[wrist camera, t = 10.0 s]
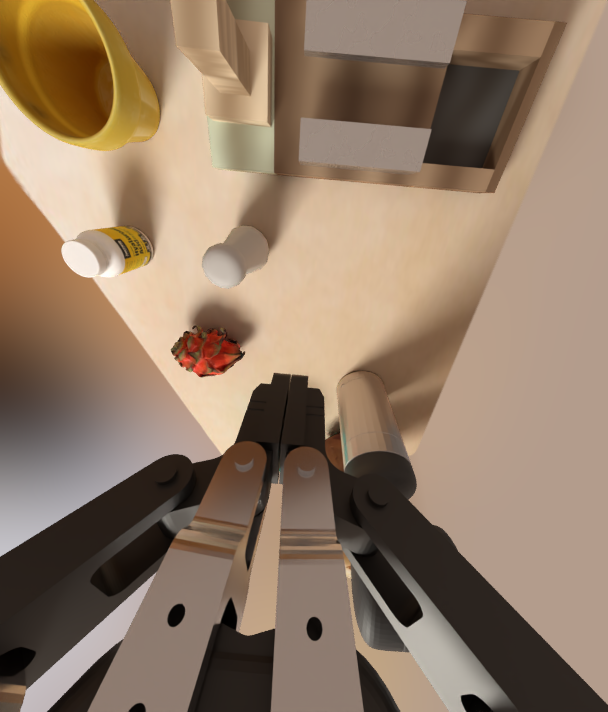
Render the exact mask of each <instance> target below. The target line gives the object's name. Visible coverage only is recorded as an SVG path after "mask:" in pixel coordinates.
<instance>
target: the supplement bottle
mask: <svg viewBox="0 0 608 712" xmlns="http://www.w3.org/2000/svg"><path fill="white" fill-rule="evenodd" d="M62 255H63V258H64V260H65V262H66V263H67V265H68V266H69V267H70V268H71V269H72V270H73V271H74V272H76V273H77V274H79V275H81V276H84V277H95V276H99V275H100V276H103V277H114V276H118V275H120V274H123V273H126V272H128V271H131V270H134V269H137V268H139V267H142V266H145V265H147V264H148V263H150V262H151V260H152V258H153V247H152V245H151V242H150V241H149V239H148V238H147V237H146V235H145V234H144V233H142V232H141V231H140V230H138V229H137V228H134V227H131V226H119V227H111V228H103V229H95V230H88V231H84V232H82V233H80V234H79V235H78V236H77V238H76V239H75V240H70V241H67V242H65V243H64V244H63V246H62Z"/></svg>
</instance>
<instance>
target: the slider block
mask: <svg viewBox="0 0 608 712" xmlns="http://www.w3.org/2000/svg"><path fill="white" fill-rule="evenodd" d="M170 3H171V11H172V18H173V26H174V34H175V41H176V46H177V47H178V48H179V49H180V50H181V52H182V53H183V54H184V55H185V56H186V57H187V58H188V59H189V60H190V61H191V62H192V63H193V64H194V65H195V66H196V67H197V69H198V70H199V71H200V72H201V73H202V82H203V92H204V103H205V113H206V115H207V116H208V117H209V118H211V119H212V120H213V121H219V122H228V123H237V124H245V125H254V126H262V127H271V109H272V34H271V31H270V28H269V24H268V23H264V22H256V21H247V20H239V19H235V18H234V16H233V14H232V12H231V10H230V8H229V6H228V4H227V1H226V0H170Z"/></svg>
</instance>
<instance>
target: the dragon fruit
mask: <svg viewBox="0 0 608 712" xmlns="http://www.w3.org/2000/svg"><path fill="white" fill-rule="evenodd" d="M195 327H197V330H198V333H197V334H195V335H194V334H193V333H192V332H189V331H185V332H184V334H183V337H180V338H179V340H178V342H176V343H175V345H174V346H173V348H172V349H171V352H172V354H173V356H176V357H175V360H176V361H178V363H179V364H180V366H181V367H186V370H187V371H189V372H192V371H193V372H195V373H196V374H197V375H198V376H199V377H206V376H215V375H220V374H223V373H225V372H226V371H227V370H228V369H229V368H231V367H232V366H233V365H234V364H235V363H236V362H237V361H239V360H241V359H242V358H243V356H244V355H245V351H244V352H243V354H242V351H240V350H239V349H240V344H238V342H237V341H235V340H232V339H229V340H232V341H230V342H232V343H235V344H232V343H229V342H227V341H226V340H224V338H225V337H226V336H227V333H226V329H225V328H222V327H219V329H220V331H221V332H222V334H223V335H221V336H217V333H218V331H217V330H216V329H214V328H212V329H209V330H207V332H203V330H202V328H201V327H199V326H194V327H193V328H192V329H194V328H195ZM240 355H241V356H240Z"/></svg>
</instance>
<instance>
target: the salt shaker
mask: <svg viewBox="0 0 608 712" xmlns="http://www.w3.org/2000/svg"><path fill="white" fill-rule="evenodd" d="M268 255H269V248H268V242H267V240H266V239H265V237H264V236H263V234H262V233H261V232H260V231H258V230H257V229H255V228H254V227H252V226H242V225H241V226H239V227H237V228H234V229H233V230H232V231H231V233H230V234H229V235H228V237H227V239H226V240H225V242H224V243H219V244H216V245H214V246H211V247H209V248H208V250H207V251H206V253H205V254H204V256H203V261H202V267H203V270H204V273H205V276H206V277H207V278H208V279H209V280H210V281H211V283H213V284H214V285H216V286H218V287H220V288H228V289H229V288H232V287H234V286H237V285H239V284H240V283H241V281H242V280H243V279H244V278H245V276H246V274H248V273H251V272H254V271H257V270H259V269H261V268H262V267H263V266H264V265H265V264H266V262H267V260H268Z"/></svg>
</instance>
